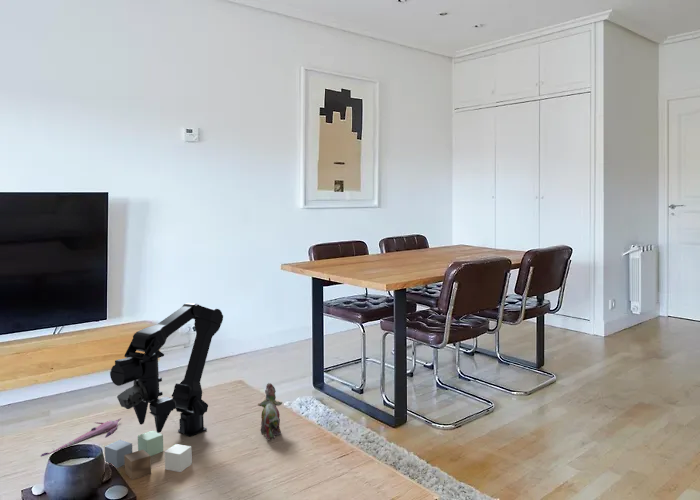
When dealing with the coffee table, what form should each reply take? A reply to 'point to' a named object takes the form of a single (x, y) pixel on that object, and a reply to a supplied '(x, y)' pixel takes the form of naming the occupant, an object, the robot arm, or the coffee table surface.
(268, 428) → the figurine
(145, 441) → the sage block
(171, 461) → the cream block
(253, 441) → the coffee table surface
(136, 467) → the walnut block
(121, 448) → the slate block
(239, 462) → the coffee table surface
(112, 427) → the toy
